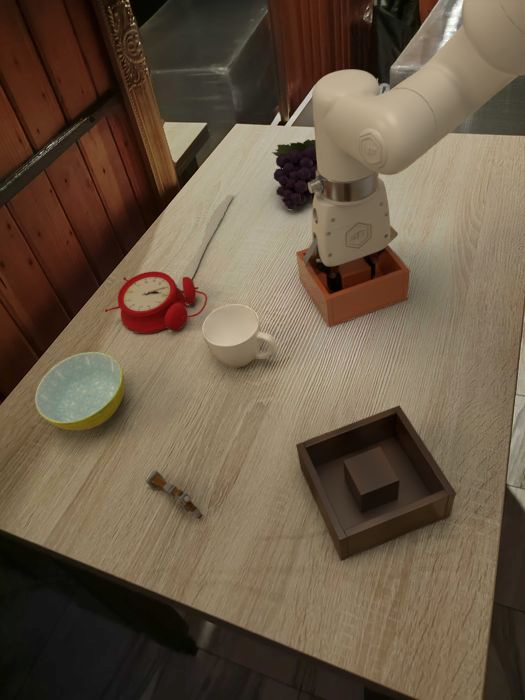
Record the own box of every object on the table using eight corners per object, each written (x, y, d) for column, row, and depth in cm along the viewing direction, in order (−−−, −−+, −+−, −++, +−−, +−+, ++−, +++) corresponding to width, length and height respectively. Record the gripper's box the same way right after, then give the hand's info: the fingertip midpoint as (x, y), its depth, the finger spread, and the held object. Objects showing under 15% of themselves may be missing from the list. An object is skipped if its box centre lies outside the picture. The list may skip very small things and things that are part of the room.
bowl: (139, 435, 70) (122, 408, 65) (53, 457, 70) (30, 432, 65) (135, 370, 78) (120, 342, 73) (57, 390, 77) (38, 363, 73)
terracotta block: (358, 272, 83) (357, 250, 80) (371, 290, 80) (371, 267, 77) (332, 282, 83) (330, 259, 79) (343, 299, 80) (342, 277, 77)
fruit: (278, 225, 100) (289, 164, 106) (333, 218, 96) (341, 156, 102) (258, 187, 92) (271, 124, 98) (318, 178, 88) (327, 113, 94)
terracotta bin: (372, 254, 86) (372, 226, 82) (407, 299, 79) (410, 270, 75) (299, 279, 85) (296, 251, 81) (328, 327, 77) (326, 299, 73)
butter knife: (168, 288, 87) (184, 289, 86) (222, 194, 104) (236, 194, 103) (169, 291, 88) (186, 292, 87) (223, 197, 104) (237, 196, 103)
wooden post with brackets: (200, 526, 60) (179, 501, 57) (164, 503, 66) (144, 479, 64) (211, 514, 60) (190, 488, 58) (174, 492, 66) (155, 468, 64)
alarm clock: (123, 268, 87) (201, 256, 81) (143, 295, 91) (219, 286, 85) (96, 315, 81) (178, 306, 75) (119, 341, 85) (198, 336, 79)
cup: (226, 332, 80) (216, 299, 75) (288, 344, 76) (283, 311, 71) (204, 371, 75) (192, 339, 70) (269, 386, 72) (262, 354, 67)
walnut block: (379, 465, 62) (380, 445, 58) (398, 498, 59) (399, 479, 55) (344, 479, 61) (343, 460, 58) (361, 513, 58) (360, 495, 55)
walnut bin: (397, 431, 65) (399, 404, 61) (449, 516, 57) (456, 492, 53) (300, 468, 63) (295, 444, 59) (341, 560, 56) (339, 540, 52)
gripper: (296, 214, 64) (309, 319, 78) (423, 172, 66) (414, 282, 80) (275, 184, 69) (290, 288, 83) (394, 146, 71) (390, 253, 85)
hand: (351, 284), depth 81 cm, fingers closed on terracotta block, 4 cm apart
